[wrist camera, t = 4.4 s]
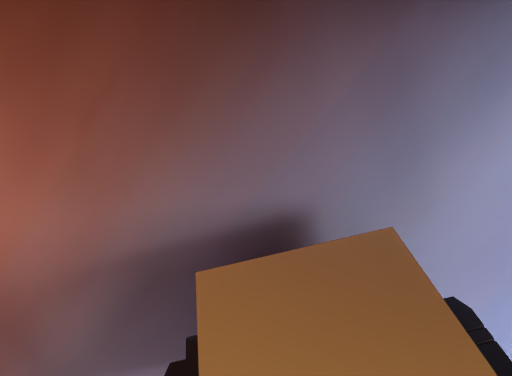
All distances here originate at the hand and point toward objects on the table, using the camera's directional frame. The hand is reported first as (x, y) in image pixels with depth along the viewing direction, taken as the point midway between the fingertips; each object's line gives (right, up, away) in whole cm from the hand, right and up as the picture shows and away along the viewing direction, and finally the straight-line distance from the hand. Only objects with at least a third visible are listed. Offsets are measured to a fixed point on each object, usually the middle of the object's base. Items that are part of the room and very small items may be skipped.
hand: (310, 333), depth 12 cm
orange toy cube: (0, 0, 0) cm, 0 cm away
